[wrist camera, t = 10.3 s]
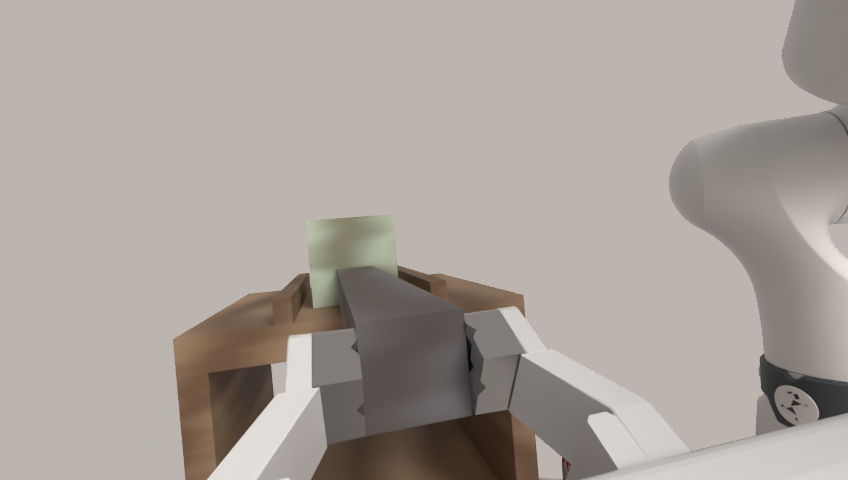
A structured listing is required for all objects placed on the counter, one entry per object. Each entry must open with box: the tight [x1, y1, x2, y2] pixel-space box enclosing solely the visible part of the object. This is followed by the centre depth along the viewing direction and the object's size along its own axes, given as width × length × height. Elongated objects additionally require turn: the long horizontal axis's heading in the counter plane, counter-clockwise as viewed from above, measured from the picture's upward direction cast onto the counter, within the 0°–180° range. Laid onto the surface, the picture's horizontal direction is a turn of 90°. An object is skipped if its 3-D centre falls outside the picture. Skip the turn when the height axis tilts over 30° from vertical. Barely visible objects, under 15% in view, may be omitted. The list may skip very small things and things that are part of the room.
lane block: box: [306, 215, 473, 437], centre depth 22 cm, size 6×26×6 cm, turn 14°
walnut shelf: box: [173, 266, 539, 480], centre depth 33 cm, size 20×20×28 cm
